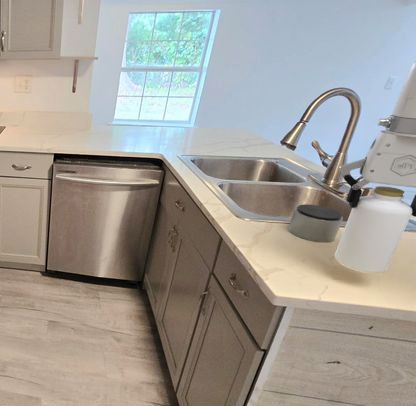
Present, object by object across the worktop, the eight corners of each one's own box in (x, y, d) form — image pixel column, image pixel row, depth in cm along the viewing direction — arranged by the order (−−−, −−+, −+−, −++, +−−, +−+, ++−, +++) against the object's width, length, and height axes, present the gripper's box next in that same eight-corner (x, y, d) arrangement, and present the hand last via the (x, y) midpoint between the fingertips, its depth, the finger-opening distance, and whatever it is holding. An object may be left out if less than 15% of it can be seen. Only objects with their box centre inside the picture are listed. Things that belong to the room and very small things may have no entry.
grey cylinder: (339, 235, 101) (349, 212, 98) (327, 246, 96) (337, 222, 93) (295, 222, 109) (302, 201, 106) (282, 232, 104) (289, 209, 101)
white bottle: (385, 264, 81) (419, 188, 74) (385, 280, 76) (421, 200, 69) (334, 251, 86) (361, 180, 80) (331, 265, 81) (360, 190, 74)
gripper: (357, 126, 71) (327, 208, 78) (499, 134, 62) (452, 226, 68) (349, 120, 77) (323, 196, 83) (479, 126, 67) (437, 211, 74)
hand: (381, 209), depth 76 cm, fingers closed on white bottle, 8 cm apart
